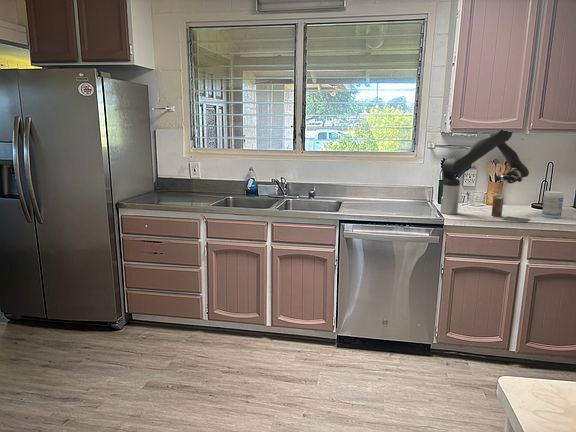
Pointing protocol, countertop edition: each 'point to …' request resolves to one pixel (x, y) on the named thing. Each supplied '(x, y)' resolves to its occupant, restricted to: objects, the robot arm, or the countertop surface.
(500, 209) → the walnut post
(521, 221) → the rubber mat
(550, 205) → the supplement tub
